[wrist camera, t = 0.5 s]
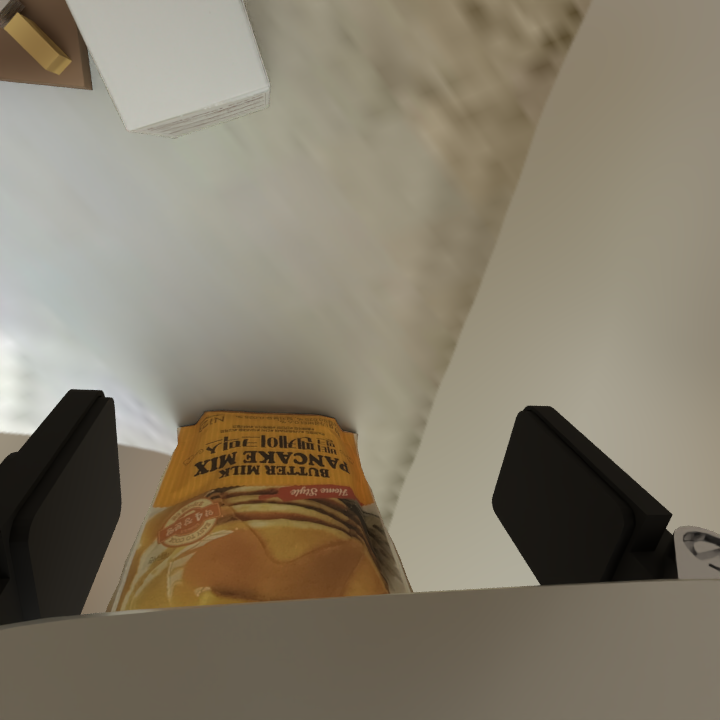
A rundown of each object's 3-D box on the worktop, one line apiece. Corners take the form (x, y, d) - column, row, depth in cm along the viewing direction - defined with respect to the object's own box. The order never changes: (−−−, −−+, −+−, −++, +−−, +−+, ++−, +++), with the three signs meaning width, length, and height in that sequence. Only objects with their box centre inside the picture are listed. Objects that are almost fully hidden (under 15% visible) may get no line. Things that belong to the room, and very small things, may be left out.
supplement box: (121, 19, 30) (32, -64, 19) (232, -13, 30) (211, -114, 19) (172, 141, 33) (123, 135, 22) (272, 111, 34) (275, 88, 22)
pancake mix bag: (363, 471, 48) (472, 827, 22) (162, 467, 43) (18, 903, 18) (374, 413, 45) (510, 740, 20) (163, 402, 41) (-5, 804, 16)
